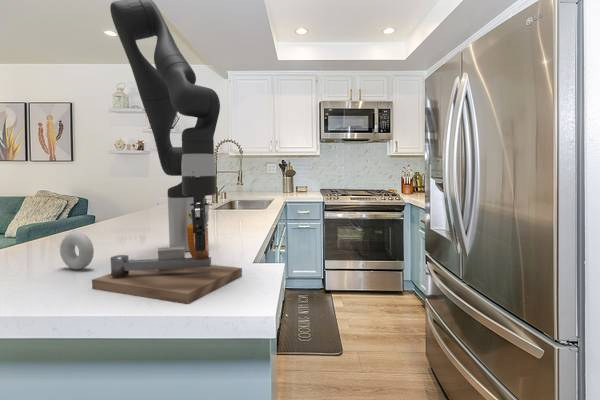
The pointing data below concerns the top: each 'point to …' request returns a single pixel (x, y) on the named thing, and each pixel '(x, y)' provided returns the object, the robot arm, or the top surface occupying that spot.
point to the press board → (170, 280)
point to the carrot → (190, 237)
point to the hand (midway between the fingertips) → (201, 248)
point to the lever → (160, 262)
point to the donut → (70, 255)
